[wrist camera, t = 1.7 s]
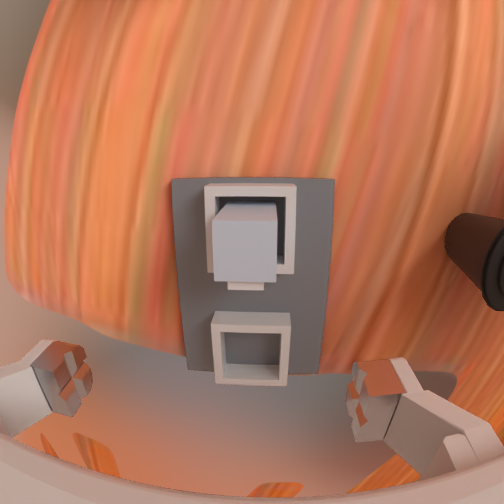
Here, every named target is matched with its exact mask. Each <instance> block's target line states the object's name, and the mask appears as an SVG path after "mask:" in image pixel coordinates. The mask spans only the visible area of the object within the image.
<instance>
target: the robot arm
mask: <svg viewBox="0 0 504 504" xmlns="http://www.w3.org/2000/svg"><path fill="white" fill-rule="evenodd" d="M85 360H86V354H85V351H84V348H83V347H81V346H80V345H75V344H70V343H65V342H61V341H55V340H51V339H42V340H41V341H40V342H39V343H38V344H37V345H36V346H35V347H33V348H32V349H31V350H30V351H29V352H28V353H27V354H26V355H25V356H24V357H23V358H22V359H21V360H20V361H19V362H18V363H17V362H13V363H10V364H8V365H5V366H2V367H0V504H504V447H503V445H502V443H501V442H500V440H499V438H498V437H497V435H496V433H495V432H494V430H493V428H492V427H491V425H490V424H489V423H488V422H486V421H484V420H482V419H480V418H478V417H476V416H475V415H473V414H471V413H469V412H467V411H465V410H463V409H462V408H460V407H458V406H456V405H454V404H452V403H451V402H449V401H447V400H445V399H443V398H442V397H440V396H438V395H436V394H434V393H433V392H430V391H429V390H426V391H423V389H422V387H421V385H420V383H419V381H418V380H417V378H416V376H415V374H414V373H413V371H412V369H411V368H410V366H409V364H408V362H407V361H406V359H405V358H403V357H398V358H389V359H386V360H373V361H357V362H354V363H353V366H352V370H351V375H352V379H353V381H352V382H351V383H350V384H348V388H347V393H346V394H347V395H346V405H347V411H348V415H349V416H350V417H352V418H353V421H352V424H351V427H352V431H353V435H354V439H355V442H366V441H377V440H384V442H385V443H386V444H387V445H388V446H389V447H390V448H392V449H393V450H394V451H395V452H396V453H397V454H398V455H399V456H400V457H401V458H403V459H404V460H405V461H406V462H407V463H408V464H409V465H410V466H411V467H413V468H414V469H415V470H416V471H417V472H418V473H419V474H420V475H422V476H421V477H420V479H419V480H418V481H416V482H412V483H407V484H403V485H398V486H393V487H388V488H382V489H376V490H370V491H363V492H356V493H347V494H338V495H328V496H313V497H289V498H262V497H238V496H224V495H212V494H202V493H195V492H188V491H181V490H175V489H169V488H163V487H158V486H153V485H148V484H143V483H139V482H135V481H131V480H126V479H122V478H119V477H115V476H111V475H108V474H104V473H101V472H97V471H94V470H91V469H88V468H85V467H82V466H79V465H76V464H73V463H70V462H67V461H64V460H62V459H59V458H56V457H54V456H51V455H49V454H46V453H44V452H41V451H39V450H36V449H34V448H32V447H30V446H28V445H25V444H23V443H21V442H19V441H17V440H15V439H13V437H14V436H16V435H18V434H19V433H21V432H22V431H24V430H26V429H27V428H29V427H30V426H32V425H34V424H35V423H36V422H38V421H40V420H41V419H43V418H45V417H46V416H48V415H49V414H51V413H52V412H55V413H59V414H63V415H66V416H70V417H73V416H74V414H75V413H76V411H77V410H78V408H79V407H80V405H81V398H83V397H85V396H87V395H88V393H89V392H90V390H91V387H92V382H93V379H92V372H91V369H90V367H89V366H88V365H87V364H86V363H85Z"/></svg>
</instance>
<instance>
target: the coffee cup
mask: <svg viewBox="0 0 504 504" xmlns="http://www.w3.org/2000/svg"><path fill="white" fill-rule="evenodd" d="M445 248H446V251H447V254H448V255H449V257H450V258H451V259H452V260H453V261H454V262H455V263H456V264H457V265H458V267H459V268H460V269H461V270H462V271H463V272H464V273H465V274H466V275H467V276H468V277H469V278H470V279H471V280H472V281H473V282H474V283H475V285H476V286H477V287H478V288H479V289H480V290H481V291H482V295H483V298H484V300H485V301H486V303H487V305H488V306H489V307H491V308H492V309H494V310H495V311H504V220H502V219H497V218H492V217H487V216H481V215H476V214H470V213H465V214H461V215H459V216H457V217H456V218H455V219H454V220H453V221H452V222H451V223H450V225H449V227H448V229H447V232H446V236H445Z"/></svg>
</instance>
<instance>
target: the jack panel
mask: <svg viewBox="0 0 504 504" xmlns="http://www.w3.org/2000/svg"><path fill="white" fill-rule="evenodd" d="M171 184H172V207H173V225H174V240H175V254H176V266H177V278H178V289H179V299H180V308H181V318H182V326H183V335H184V343H185V351H186V358H187V365H188V369H189V370H199V371H213V372H215V382H216V384H233V385H258V386H287V377H288V374H318V370H319V362H320V355H321V347H322V339H323V331H324V322H325V313H326V303H327V293H328V282H329V270H330V258H331V244H332V228H333V209H334V184H335V180H334V179H325V178H293V177H206V178H175V179H171ZM228 201H275V202H276V211H277V271H276V282H264V290H228V282H226V281H214V266H213V242H212V220H213V218H214V217H215V216H216V215H217V214H218V213H219V211H220V210H221V209H222V208H223V207H224V206H225V205H226V203H227V202H228Z"/></svg>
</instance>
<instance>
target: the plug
mask: <svg viewBox="0 0 504 504" xmlns="http://www.w3.org/2000/svg"><path fill="white" fill-rule="evenodd" d="M212 242H213V266H214V281H226V282H228V290H264V282H276V271H277V211H276V202H275V201H228V202H227V203H226V205H225V206H224V207H223V208H222V209H221V210H220V211H219V213H218V214H217V215H216V216H215V217H214V218H213V220H212Z"/></svg>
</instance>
